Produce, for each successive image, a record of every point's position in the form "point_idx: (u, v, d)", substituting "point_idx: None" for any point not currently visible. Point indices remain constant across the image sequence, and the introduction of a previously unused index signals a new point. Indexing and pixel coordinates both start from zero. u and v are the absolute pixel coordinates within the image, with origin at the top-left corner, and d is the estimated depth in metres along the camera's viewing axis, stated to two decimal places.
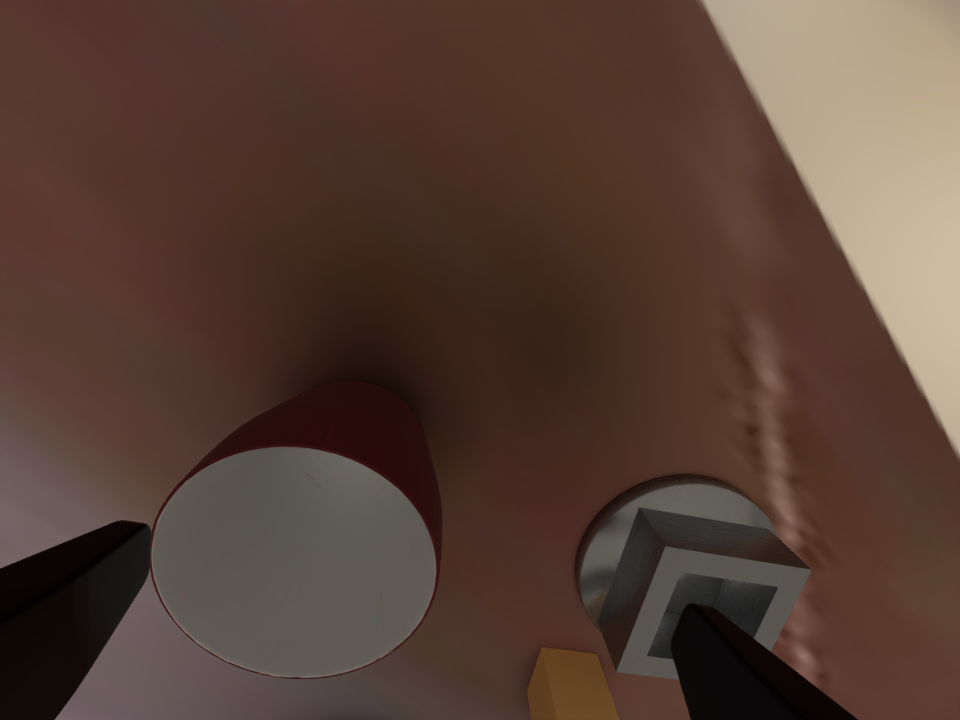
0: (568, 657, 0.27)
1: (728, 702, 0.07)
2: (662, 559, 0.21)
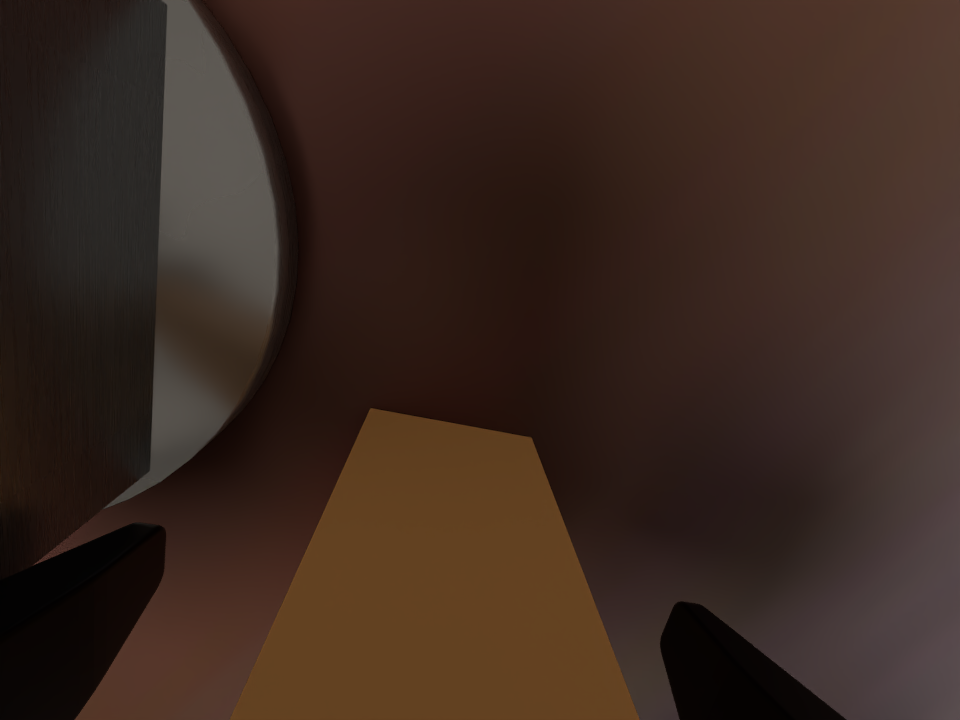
0: None
1: (715, 701, 0.07)
2: None
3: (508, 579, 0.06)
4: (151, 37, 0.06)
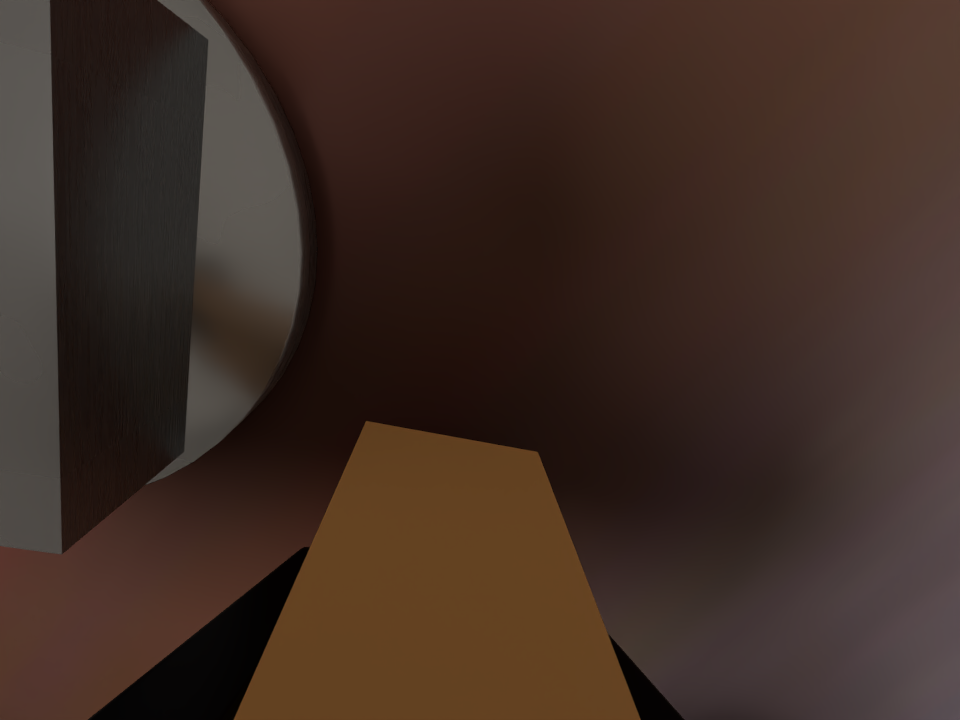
0: None
1: None
2: None
3: (517, 623, 0.05)
4: (195, 69, 0.07)
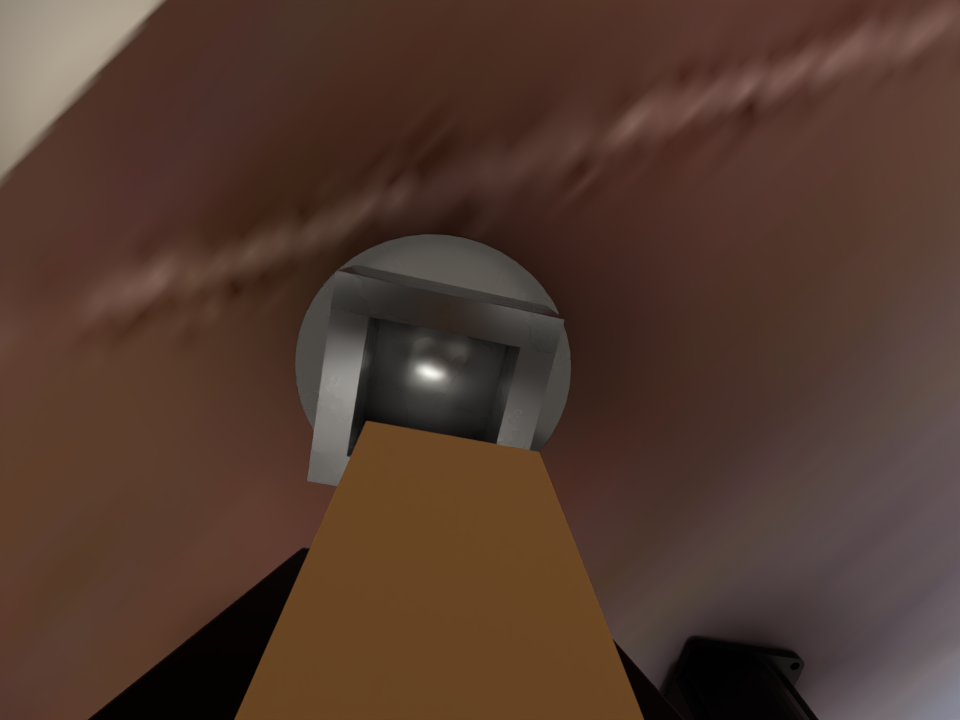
0: None
1: None
2: (328, 480, 0.16)
3: (520, 626, 0.05)
4: None
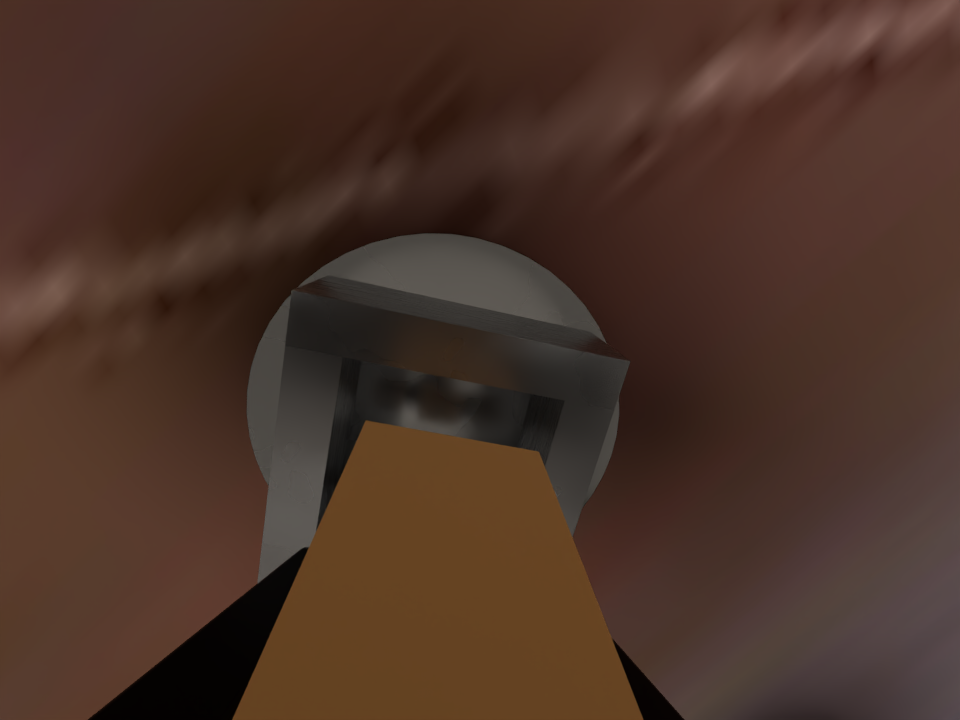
0: None
1: None
2: None
3: (519, 626, 0.05)
4: None
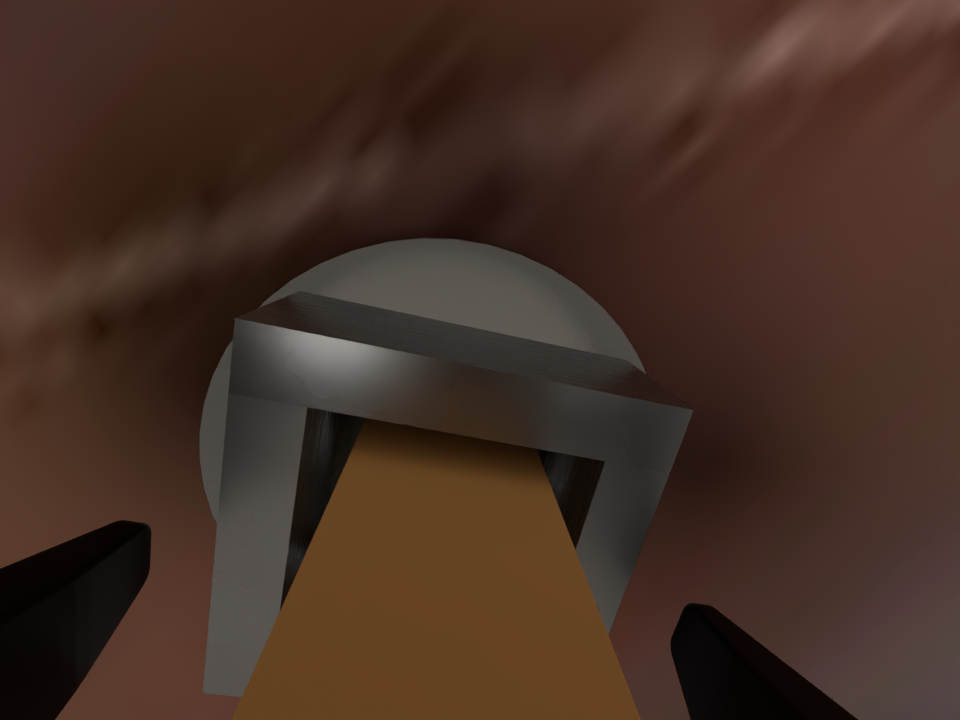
0: None
1: (728, 702, 0.07)
2: (242, 691, 0.09)
3: (501, 532, 0.06)
4: None
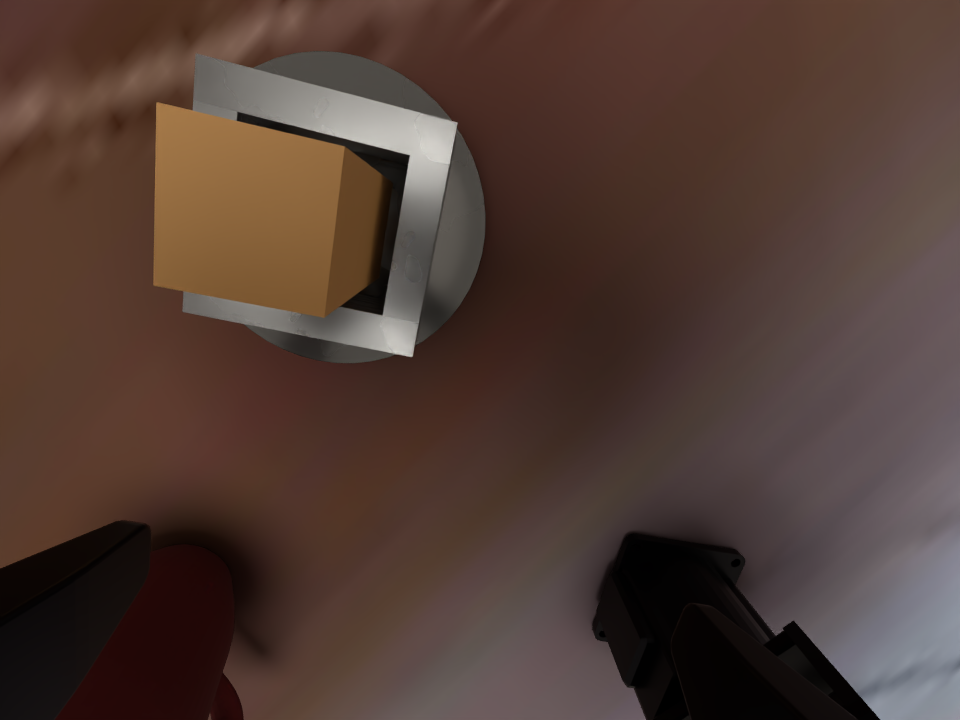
0: None
1: (728, 702, 0.07)
2: (206, 312, 0.15)
3: None
4: (453, 154, 0.16)
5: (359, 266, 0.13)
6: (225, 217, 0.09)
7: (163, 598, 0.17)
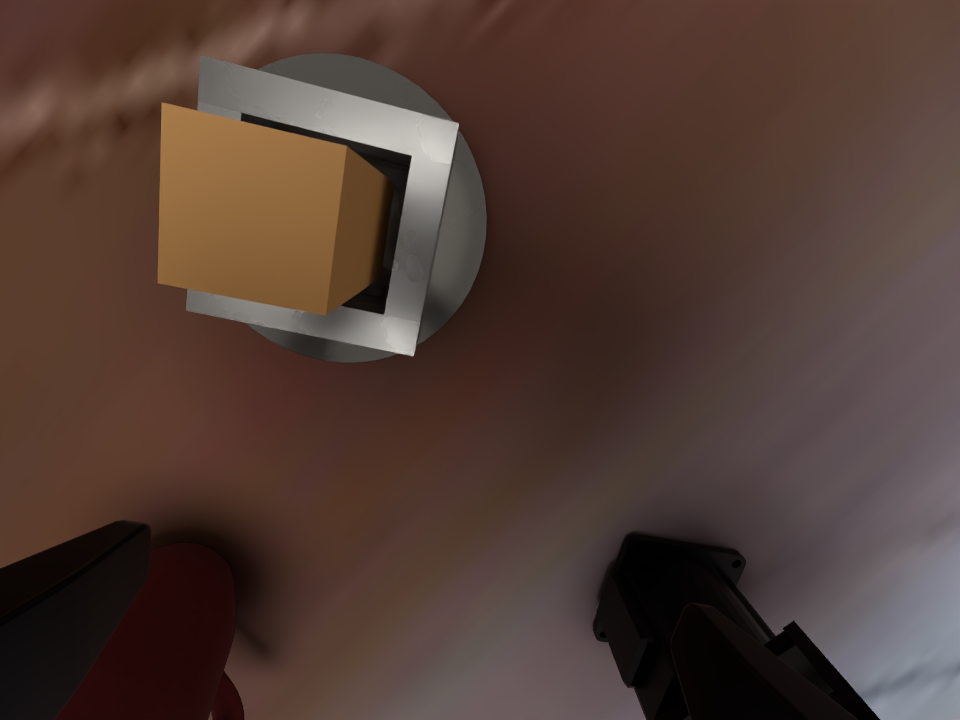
0: None
1: (728, 702, 0.07)
2: (209, 311, 0.15)
3: None
4: (454, 155, 0.16)
5: (361, 265, 0.13)
6: (228, 215, 0.09)
7: (165, 595, 0.17)
